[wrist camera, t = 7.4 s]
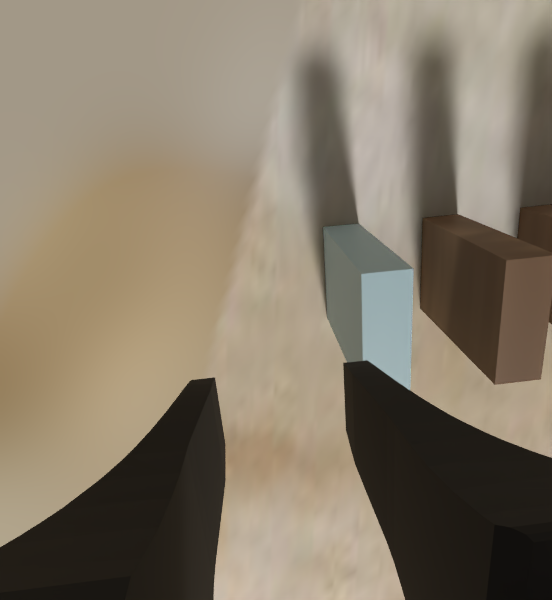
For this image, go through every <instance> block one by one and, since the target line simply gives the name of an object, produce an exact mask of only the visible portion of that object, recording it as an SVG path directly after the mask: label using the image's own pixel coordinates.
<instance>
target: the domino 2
mask: <svg viewBox="0 0 552 600" xmlns="http://www.w3.org/2000/svg"><path fill="white" fill-rule="evenodd" d="M517 239H520V240H522V241H525V242H527V243H530V244H532V245H534V246H537V247H539V248H542V249H544V250H547V251H549V252H552V204H550V205H541V206H531V207H522V208H520V218H519V228H518V238H517ZM549 322H550V323H551V324H552V300H551V307H550V314H549Z"/></svg>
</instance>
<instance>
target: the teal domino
mask: <svg viewBox="0 0 552 600" xmlns="http://www.w3.org/2000/svg"><path fill="white" fill-rule="evenodd" d="M323 235H324V257H325V279H326V301H327V318H328V320H329V323H330V325H331V327H332V329H333V332H334V334H335V336H336V338H337V341H338V343H339V345H340V347H341V350H342V352H343V354H344V356H345V358H346V361H347V362H356V361H365V360H367V361H369V362H371V363H372V364H373V365H375V366H376V367H378V368H379V369H380V370H382V371H383V372H384V373H386V374H387V375H389V376H390V377H391V378H393V379H394V380H396V381H397V382H398V383H400V384H401V385H403V386H404V387H406V388H407V389H409V390H410V381H411V344H412V307H413V268H412V267H411V266H410V265H408V264H407V263H406V262H405V261H404V260H402V259H401V258H400V257H399V256H397V255H396V254H395V253H394V252H393V251H391V250H390V249H389V248H388V247H387V246H385V245H384V244H383V243H382V242H380V241H379V240H378V239H377V238H376V237H374V236H373V235H372V234H371V233H370V232H368V231H367V230H366V229H365V228H364V227H362V226H361V225H360V224H348V225H338V226H327V227H323Z"/></svg>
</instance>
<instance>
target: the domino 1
mask: <svg viewBox="0 0 552 600" xmlns="http://www.w3.org/2000/svg"><path fill="white" fill-rule="evenodd" d="M551 300H552V252H549V251H547V250H544V249H542V248H539V247H537V246H534V245H532V244H530V243H527V242H525V241H522V240H520V239H517V238H515V237H512V236H510V235H507V234H505V233H502V232H500V231H498V230H495V229H493V228H490V227H488V226H485V225H483V224H480V223H478V222H475V221H473V220H471V219H468V218H466V217H463V216H461V215H458V214H455V215H446V216H436V217H426V218H423V221H422V261H421V302H420V309H421V310H422V311H423V312H424V313H425V314H426V315H427V316H428V317H429V318H430V319H431V320H432V321H433V322H434V323H435V324H436V325H437V326H438V327H439V328H440V329H441V330H442V331H443V332H444V333H445V334H446V335H447V336H448V337H449V338H450V339H451V340H452V341H453V342H454V343H455V344H456V345H457V346H458V347H459V349H460V350H461V351H462V352H463V353H464V354H465V355H466V356H467V357H468V358H469V359H470V360H471V361H472V362H473V363H474V364H475V365H476V366H477V367H478V368H479V369H480V370H481V371H482V372H483V373H484V374H485V375H486V376H487V377H488V378H489V379H490V380H491V381H492V382H493V383H494V384H495V385H496V384H505V383H513V382H522V381H531V380H539V379H541V374H542V366H543V359H544V351H545V344H546V337H547V329H548V322H549V314H550V307H551Z"/></svg>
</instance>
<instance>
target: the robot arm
mask: <svg viewBox="0 0 552 600" xmlns="http://www.w3.org/2000/svg"><path fill="white" fill-rule="evenodd" d="M343 364H344V389H345V415H346V431H347V435H348V439H349V443H350V447H351V450H352V454H353V458H354V461H355V465H356V467H357V470H358V472H359V475H360V477H361V480H362V482H363V485H364V487H365V490H366V492H367V495H368V497H369V499H370V502H371V504H372V507H373V509H374V512H375V514H376V517H377V519H378V521H379V524H380V526H381V529H382V531H383V534H384V536H385V538H386V541H387V544H388V546H389V549H390V552H391V555H392V557H393V560H394V563H395V567H396V570H397V573H398V577H399V580H400V583H401V587H402V590H403V593H404V597H405V600H552V458H550V457H547V456H544V455H541V454H538V453H535V452H532V451H530V450H527V449H525V448H522V447H519V446H517V445H514V444H512V443H509V442H506V441H504V440H501V439H499V438H497V437H494V436H492V435H490V434H487V433H485V432H483V431H481V430H479V429H477V428H475V427H473V426H471V425H468V424H466V423H464V422H462V421H460V420H458V419H457V418H455V417H453V416H451V415H449V414H447V413H446V412H444V411H442V410H440V409H439V408H437V407H435V406H434V405H432V404H430V403H429V402H427V401H425V400H424V399H422V398H421V397H419V396H418V395H416V394H414V393H413V392H411V391H410V390H409V389H407V388H406V387H404V386H403V385H401V384H400V383H398V382H397V381H396V380H394V379H393V378H391V377H390V376H389V375H387V374H386V373H384V372H383V371H382V370H380V369H379V368H378V367H376V366H375V365H373V364H372V363H371V362H369V361H367V360H365V361H356V362H347V363H343ZM224 487H225V439H224V433H223V427H222V420H221V414H220V407H219V401H218V395H217V388H216V382H215V378H207V379H198V380H191V381H190V382H189V383H188V384H187V386H186V387H185V388H184V389H183V391H182V392H181V393H180V395H179V396H178V397H177V399H176V400H175V401H174V402H173V404H172V405H171V406H170V408H169V409H168V410H167V411H166V413H165V414H164V415H163V416H162V418H161V419H160V420H159V421H158V422H157V424H156V425H155V426H154V427H153V428H152V429H151V431H150V432H149V433H148V434H147V435H146V436H145V437H144V438H143V439H142V441H140V443H139V444H138V445H137V446H136V447H135V448H134V449H133V450H132V451H131V452H130V453H129V454H128V455H127V456H126V457H125V458H124V459H123V460H122V461H121V462H120V463H118V464H117V465H116V466H115V467H114V468H113V469H112V470H111V471H109V472H108V473H107V474H106V475H105V476H104V477H102V478H101V479H100V480H99V481H98V482H96V483H95V484H94V485H92V486H91V487H90V488H88V489H87V490H86V491H84V492H83V493H82V494H80V495H79V496H78V497H77V498H75V499H74V500H73V501H71V502H70V503H69V504H67V505H66V506H65V507H64V508H62V509H60V510H59V511H57V512H56V513H55V514H53V515H52V516H50V517H48V518H47V519H45V520H44V521H42V522H41V523H40V524H38V525H36V526H35V527H33V528H31V529H30V530H28V531H27V532H25V533H24V534H22V535H21V536H19V537H17V538H15V539H14V540H12V541H10V542H8V543H7V544H5V545H3V546H2V547H0V600H213V594H214V575H215V563H216V555H217V546H218V538H219V530H220V521H221V513H222V505H223V496H224Z"/></svg>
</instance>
